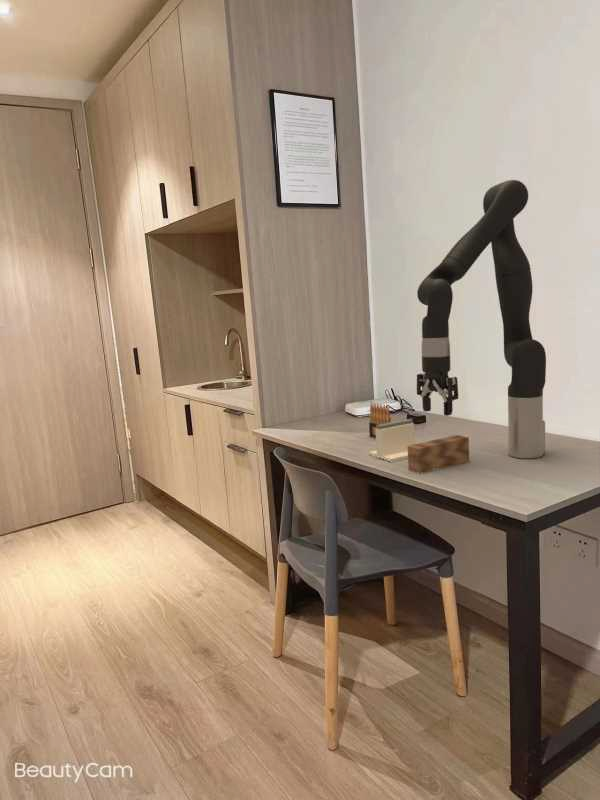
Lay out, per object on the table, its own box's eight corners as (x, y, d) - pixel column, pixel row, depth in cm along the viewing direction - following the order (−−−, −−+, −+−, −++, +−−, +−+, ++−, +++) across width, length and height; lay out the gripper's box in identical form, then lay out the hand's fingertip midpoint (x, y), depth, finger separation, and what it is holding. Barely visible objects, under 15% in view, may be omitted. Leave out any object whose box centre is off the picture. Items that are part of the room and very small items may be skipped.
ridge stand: (400, 448, 193) (399, 416, 191) (423, 454, 183) (422, 422, 182) (369, 455, 187) (367, 422, 186) (390, 462, 178) (389, 428, 176)
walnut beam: (457, 458, 177) (457, 435, 176) (469, 461, 174) (468, 437, 172) (408, 470, 169) (407, 445, 168) (419, 474, 165) (418, 448, 164)
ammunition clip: (369, 436, 211) (367, 402, 209) (373, 436, 212) (372, 401, 210) (388, 442, 202) (387, 406, 200) (393, 441, 203) (391, 405, 201)
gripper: (465, 354, 162) (465, 414, 164) (429, 351, 174) (430, 407, 177) (443, 357, 158) (444, 418, 161) (408, 354, 171) (409, 411, 173)
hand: (437, 413), depth 169 cm, fingers open, 8 cm apart
